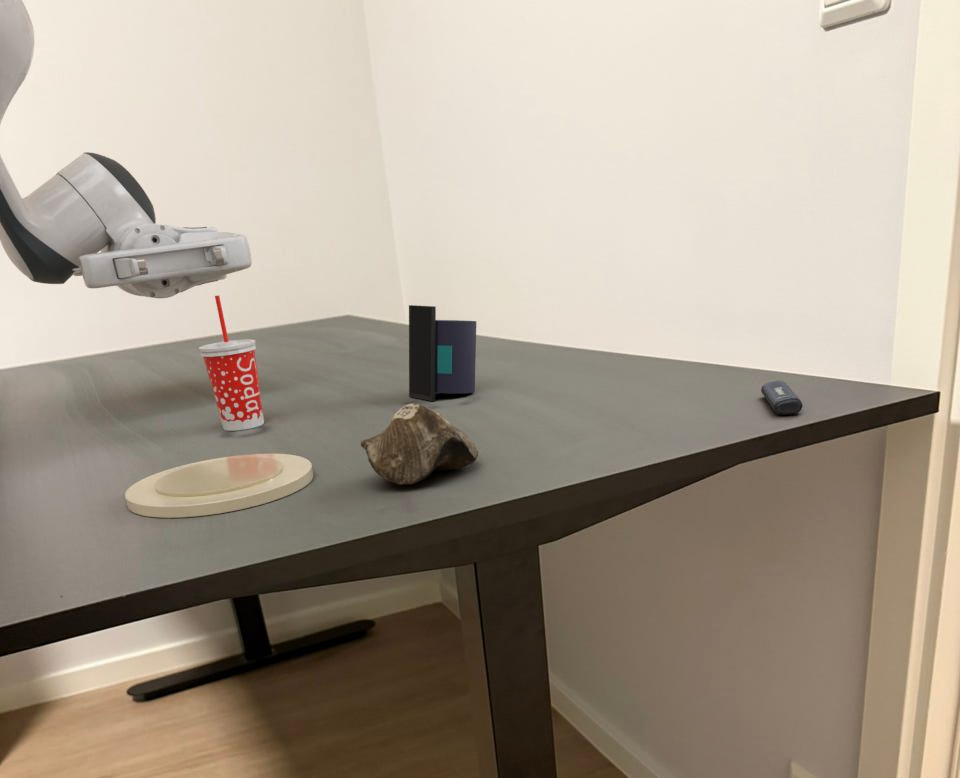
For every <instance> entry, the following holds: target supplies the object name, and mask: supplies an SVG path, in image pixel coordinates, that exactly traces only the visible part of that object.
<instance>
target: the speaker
mask: <svg viewBox="0 0 960 778" xmlns="http://www.w3.org/2000/svg"><path fill="white" fill-rule="evenodd" d="M436 307H437V306H432V305H415V304H409V305H408V397H409V398H414V399H420V400H425V401H430V402H435V401H436V394H472V393H475V392H476V357H477V356H476V355H477V353H476V352H477V321H475V320H459V319H437V318H436V316H437V314H436V313H437V311H436V310H437V309H436Z"/></svg>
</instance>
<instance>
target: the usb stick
mask: <svg viewBox="0 0 960 778" xmlns="http://www.w3.org/2000/svg"><path fill="white" fill-rule="evenodd" d="M760 392H761V394H762V395H763V397H764V399H765V400H766V402H767V403H768V404H769V406H770V407H771V409H772V410H773V411H774V413H775V414H777V415H780V416H788V415H790V416H792V415H796V414H798V413H800V412H801V411H802V408H803V402H802V401H801V399H800V398H799V397H798V395H796V393H795V392H794V391H793V390H792V389H791V388H790V386H789V385H788V384H787V382H786V381H784V380H774V381H769V382H766V383H764V384H763V385H762V386H761V389H760Z"/></svg>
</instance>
